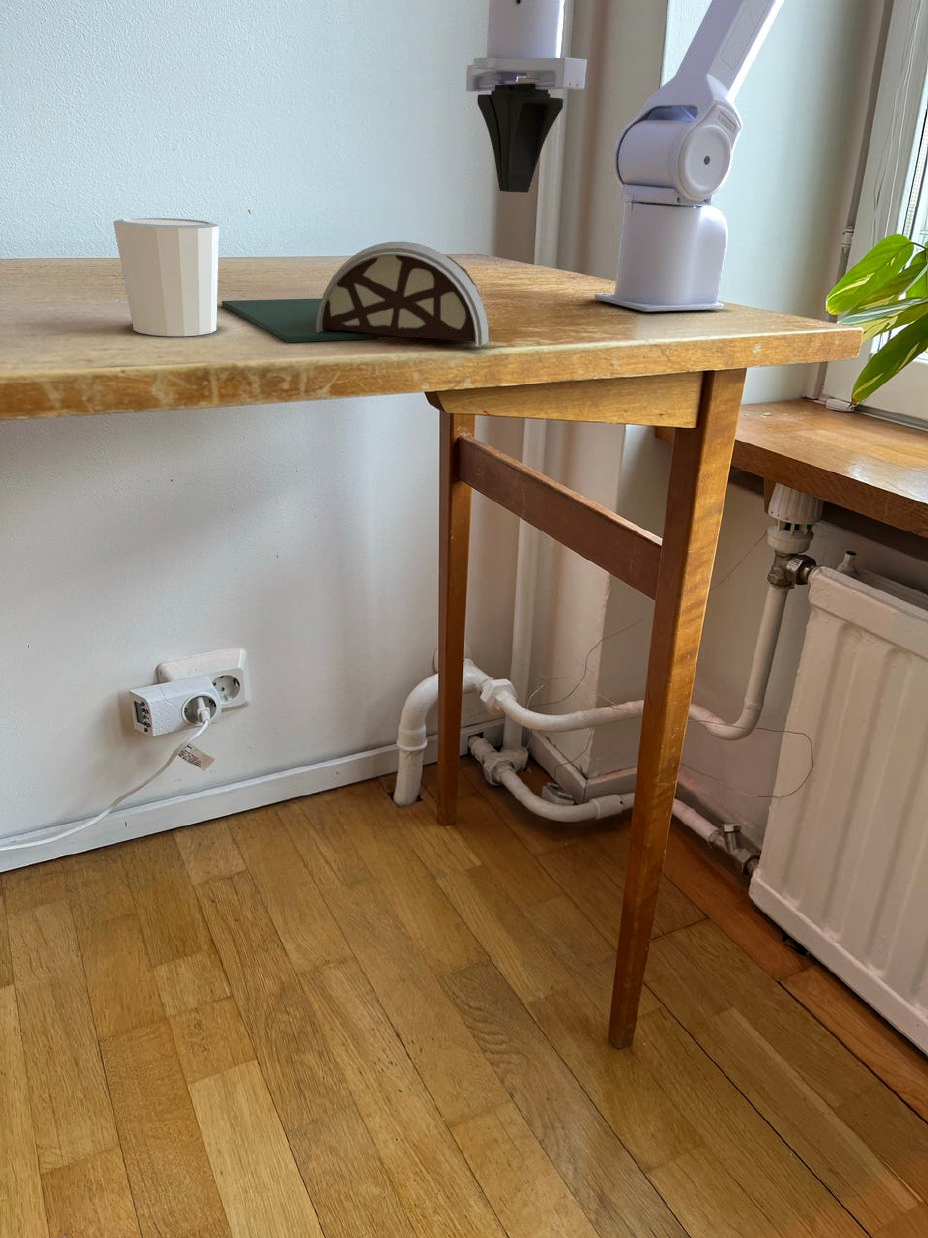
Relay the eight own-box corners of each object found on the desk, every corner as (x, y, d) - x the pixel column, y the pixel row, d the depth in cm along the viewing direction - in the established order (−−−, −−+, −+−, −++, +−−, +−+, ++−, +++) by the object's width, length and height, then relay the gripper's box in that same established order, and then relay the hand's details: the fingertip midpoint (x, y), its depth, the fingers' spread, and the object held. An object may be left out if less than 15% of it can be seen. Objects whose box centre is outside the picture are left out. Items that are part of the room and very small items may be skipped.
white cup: (133, 339, 62) (122, 225, 59) (115, 321, 68) (104, 215, 65) (236, 335, 65) (231, 226, 62) (212, 319, 71) (205, 217, 68)
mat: (358, 302, 82) (358, 297, 82) (444, 335, 70) (444, 329, 69) (221, 305, 77) (221, 300, 76) (288, 342, 64) (288, 336, 64)
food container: (508, 238, 70) (490, 250, 62) (502, 324, 73) (484, 347, 64) (347, 227, 72) (307, 237, 63) (347, 311, 75) (309, 332, 66)
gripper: (436, -3, 75) (430, 184, 81) (534, -23, 64) (518, 196, 70) (511, 8, 79) (500, 187, 85) (617, -10, 67) (596, 198, 73)
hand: (514, 191), depth 78 cm, fingers closed
